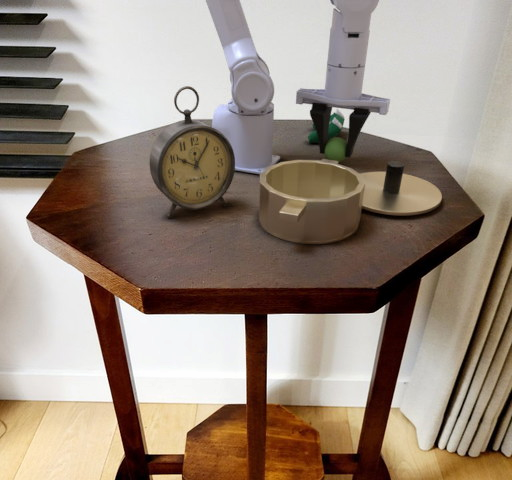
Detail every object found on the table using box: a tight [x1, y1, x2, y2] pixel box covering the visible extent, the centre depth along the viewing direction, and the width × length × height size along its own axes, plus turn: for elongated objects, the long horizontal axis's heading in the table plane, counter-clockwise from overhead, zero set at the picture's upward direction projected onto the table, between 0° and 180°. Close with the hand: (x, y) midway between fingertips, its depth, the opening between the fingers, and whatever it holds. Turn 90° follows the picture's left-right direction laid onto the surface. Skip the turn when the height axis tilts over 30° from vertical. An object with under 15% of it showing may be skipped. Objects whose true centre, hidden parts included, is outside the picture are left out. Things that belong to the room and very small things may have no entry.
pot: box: [258, 158, 365, 245], centre depth 73 cm, size 14×19×6 cm
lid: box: [359, 160, 443, 216], centre depth 79 cm, size 15×15×5 cm
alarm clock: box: [149, 85, 236, 219], centre depth 72 cm, size 11×5×16 cm, turn 118°
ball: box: [324, 136, 348, 164], centre depth 90 cm, size 4×4×4 cm
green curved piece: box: [307, 108, 345, 144], centre depth 100 cm, size 9×4×6 cm
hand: (336, 153), depth 90 cm, fingers closed on ball, 4 cm apart
